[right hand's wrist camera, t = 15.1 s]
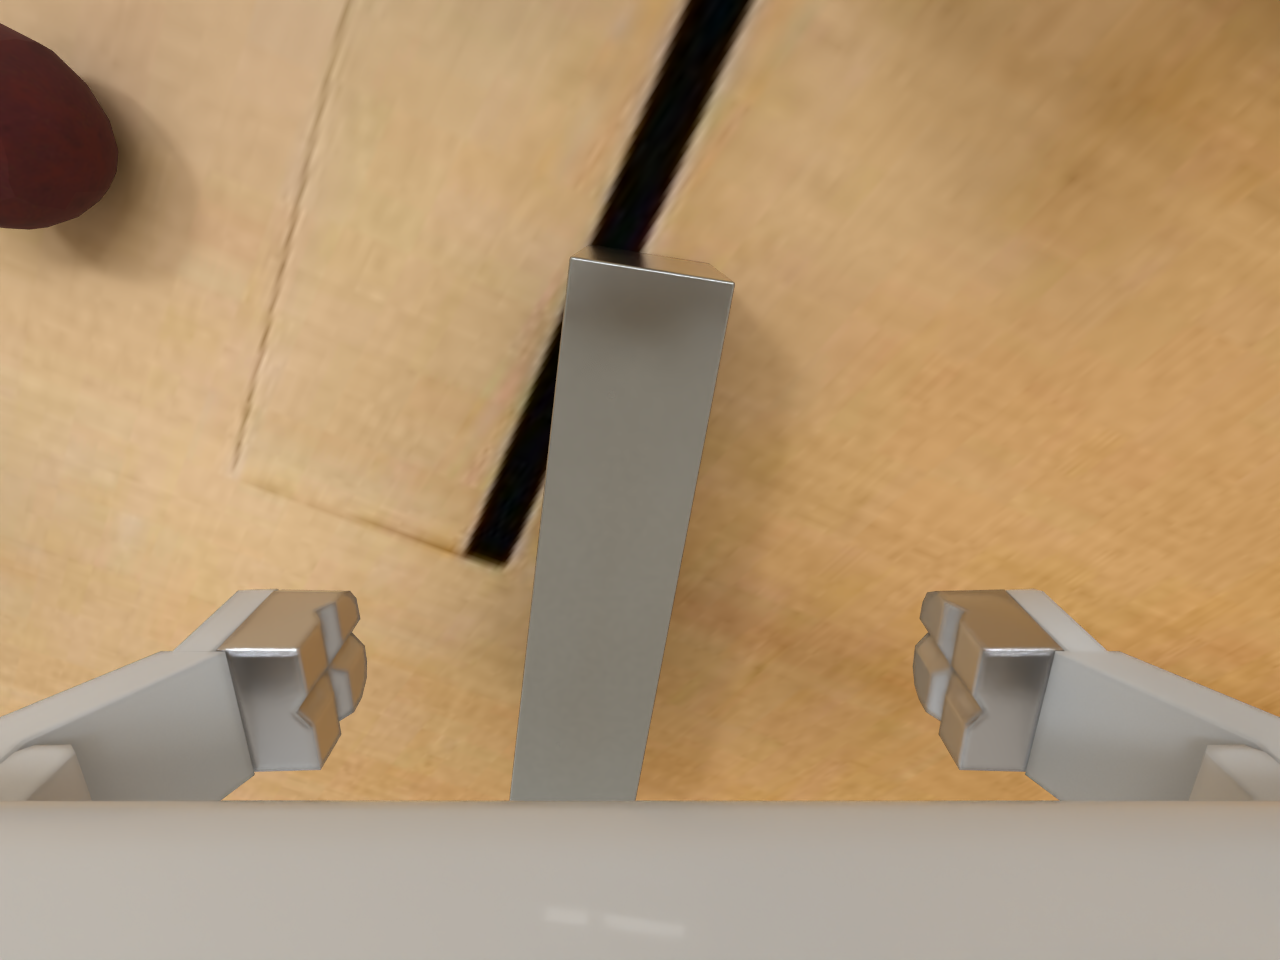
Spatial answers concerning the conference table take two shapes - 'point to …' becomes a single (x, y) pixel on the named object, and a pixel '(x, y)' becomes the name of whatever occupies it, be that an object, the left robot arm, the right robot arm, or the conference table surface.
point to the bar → (614, 515)
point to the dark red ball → (48, 138)
